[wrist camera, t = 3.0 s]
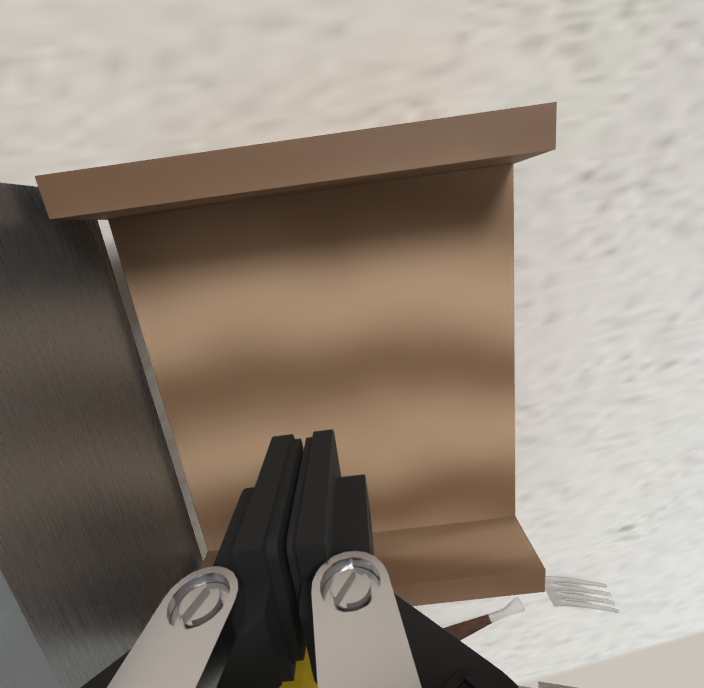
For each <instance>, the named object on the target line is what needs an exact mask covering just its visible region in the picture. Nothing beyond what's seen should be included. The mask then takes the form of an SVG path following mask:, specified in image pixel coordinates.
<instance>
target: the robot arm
mask: <svg viewBox="0 0 704 688" xmlns="http://www.w3.org/2000/svg"><path fill="white" fill-rule="evenodd" d="M306 647H307V651H308V656H309V660H310V665H311V669H312V673H313V678H314V681H315V683H316V684H317V685H318V688H530V687H524V686H518V685H516V683H514V682H513V681H512V680H511V679H510V678H509V677H508V676H507V675H506V674H505V673H504V672H502V671H501V670H500V669H498V668H497V667H496V666H494V665H493V664H491V663H490V662H489V661H487V660H486V659H484V658H483V657H482V656H480V655H479V654H478V653H476V652H475V651H473V650H472V649H471V648H469V647H468V646H466V645H465V644H464V643H462V642H461V641H460V640H458V639H457V638H455V637H454V636H453V635H451V634H450V633H448V632H447V631H446V630H444V629H443V628H442V627H440V626H439V625H437V624H436V623H435V622H433V621H432V620H430V619H429V618H428V617H426V616H425V615H423V614H422V613H421V612H419V611H418V610H417V609H415V608H414V607H412V606H411V605H410V604H408V603H407V602H405V601H404V600H403V599H401V598H400V597H399V596H397V595H396V594H394V592H393V589H392V585H391V582H390V578H389V575H388V572H387V570H386V568H385V566H384V564H383V563H382V562H381V561H380V560H379V559H377V558H376V557H375V556H374V545H373V533H372V522H371V513H370V504H369V497H368V490H367V483H366V476H365V474H362V475H354V476H345V477H341V471H340V465H339V459H338V452H337V446H336V440H335V434H334V430H333V429H330V430H322V431H314V432H313V435H312V437H307V438H306V440H305V446H304V449H303V443H302V440H301V438H299V439H295V437H294V435H293V434H288V435H280V436H273V437H272V439H271V441H270V444H269V447H268V450H267V453H266V456H265V459H264V461H263V464H262V467H261V470H260V473H259V476H258V479H257V481H256V484H255V487H251V488H245V489H243V491H242V493H241V495H240V498H239V500H238V503H237V505H236V508H235V510H234V513H233V516H232V518H231V521H230V523H229V526H228V528H227V531H226V533H225V536H224V539H223V541H222V544H221V546H220V549H219V551H218V554H217V556H216V559H215V562H214V564H213V567H206V568H203V569H200V570H197V571H195V572H193V573H191V574H189V575H188V576H186V577H184V578H183V579H181V580H180V581H179V582H178V583H177V584H176V585H175V586H173V587H172V588H171V590H170V591H169V592H168V593H167V595H166V596H165V597H164V599H163V600H162V602H161V603H160V605H159V607H158V608H157V610H156V611H155V613H154V614H153V616H152V618H151V619H150V621H149V622H148V624H147V625H146V627H145V629H144V630H143V632H142V633H141V635H140V636H139V638H138V640H137V641H136V643H135V644H134V646H133V647H132V649H130V650H129V651H128V652H126V653H125V654H124V655H122V656H121V657H120V658H119V659H117V660H116V661H115V662H113V663H112V664H111V665H109V666H108V667H107V668H105V669H104V670H103V671H101V672H100V673H99V674H98V675H96V676H95V677H94V678H92V679H91V680H90V681H88V682H87V683H86V684H84V685H83V686H82V687H80V688H279V687H280V686H281V685H282V682H288V681H294V677H295V668H296V661H303V660H304V658H305V652H306ZM538 688H576V687H570V686H564V685H558V684H551V683H545V682H538Z"/></svg>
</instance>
